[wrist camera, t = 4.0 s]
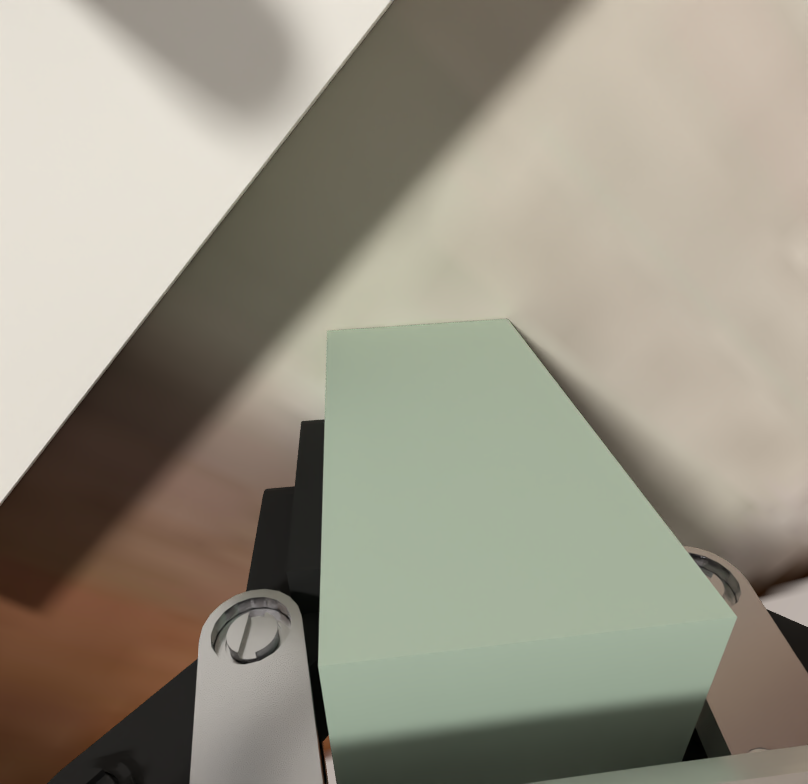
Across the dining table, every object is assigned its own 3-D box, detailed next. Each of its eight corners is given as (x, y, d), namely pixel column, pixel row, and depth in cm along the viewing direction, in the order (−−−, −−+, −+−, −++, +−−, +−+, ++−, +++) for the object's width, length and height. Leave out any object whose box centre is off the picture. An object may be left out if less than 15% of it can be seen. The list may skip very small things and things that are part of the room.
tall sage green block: (498, 546, 14) (631, 915, 8) (350, 561, 13) (364, 960, 7) (515, 318, 11) (753, 614, 5) (326, 330, 10) (317, 666, 4)
